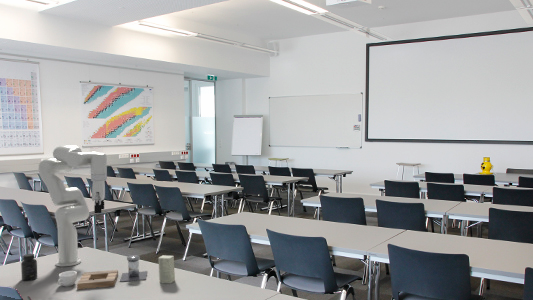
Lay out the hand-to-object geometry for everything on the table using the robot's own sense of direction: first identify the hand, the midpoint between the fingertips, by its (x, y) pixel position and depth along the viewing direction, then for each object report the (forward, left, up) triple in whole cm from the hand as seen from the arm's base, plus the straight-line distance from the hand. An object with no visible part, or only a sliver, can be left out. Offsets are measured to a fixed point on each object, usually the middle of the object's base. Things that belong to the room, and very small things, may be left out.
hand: (99, 211), depth 215 cm
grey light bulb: (+10, +17, -32) cm, 37 cm away
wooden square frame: (+13, +1, -32) cm, 34 cm away
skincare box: (+21, +33, -32) cm, 50 cm away
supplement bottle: (0, -33, -32) cm, 46 cm away
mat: (+10, +17, -32) cm, 37 cm away
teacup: (+14, -13, -32) cm, 38 cm away
